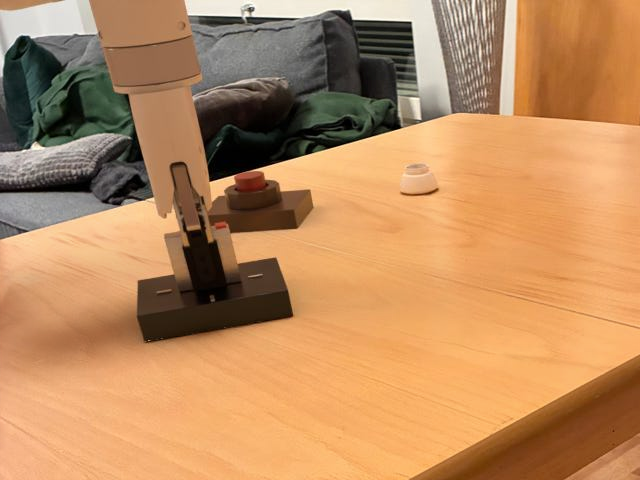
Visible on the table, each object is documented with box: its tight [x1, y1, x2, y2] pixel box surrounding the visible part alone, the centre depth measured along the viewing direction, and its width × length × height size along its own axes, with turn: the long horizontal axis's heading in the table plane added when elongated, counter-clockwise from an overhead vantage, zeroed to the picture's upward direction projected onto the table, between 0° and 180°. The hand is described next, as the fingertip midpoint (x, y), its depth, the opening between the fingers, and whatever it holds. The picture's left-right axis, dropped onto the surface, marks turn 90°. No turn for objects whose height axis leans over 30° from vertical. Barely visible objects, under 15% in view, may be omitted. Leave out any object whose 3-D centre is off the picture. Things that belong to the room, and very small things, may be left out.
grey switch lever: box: [163, 222, 241, 292], centre depth 92 cm, size 6×2×5 cm, turn 105°
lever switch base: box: [136, 256, 294, 342], centre depth 94 cm, size 14×11×3 cm
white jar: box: [398, 162, 440, 196], centre depth 124 cm, size 5×3×5 cm
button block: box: [207, 179, 315, 234], centre depth 118 cm, size 12×9×4 cm
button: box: [233, 170, 267, 192], centre depth 117 cm, size 4×4×2 cm
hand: (209, 282), depth 94 cm, fingers closed on grey switch lever
